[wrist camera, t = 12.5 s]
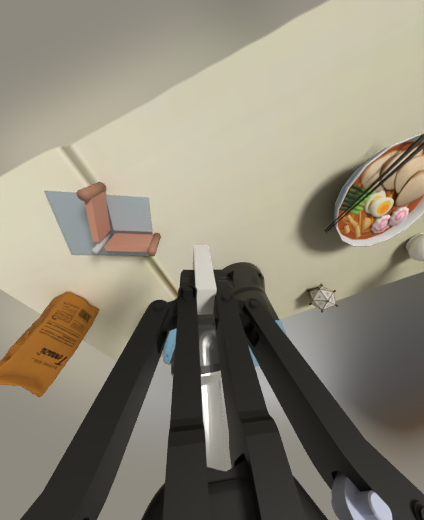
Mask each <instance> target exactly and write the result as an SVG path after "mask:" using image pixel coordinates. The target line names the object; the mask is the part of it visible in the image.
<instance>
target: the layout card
mask: <svg viewBox="0 0 424 520" xmlns="http://www.w3.org/2000/svg"><path fill="white" fill-rule="evenodd" d="M44 192H45V194H46V196H47V199H48V201H49V203H50V206H51V208H52V210H53V213H54V215H55V217H56V220H57V222H58V224H59V227H60V229H61V231H62V233H63V236H64V238H65V240H66V243H67V245H68V247H69V250H70V252H71V254H77V255H129V256H149V255H148V254H147V252H129V251H106V250H105V245H106V244H107V243H106V244H105V245H104V246H103V247H102V249H101V250H100V251H99V252H98V253H97V254H93V253H91V250H92V249H93V248H94V247H95V246H96V244H97V243H98V242H93V240H92V235H91V231H90V226H89V222H88V217H87V212H86V208H85V203H84V201H82V200H80V199H79V198H78V197H77V193H72V192H57V191H44ZM106 202H107V209H108V216H109V223H110V231H109V233H110V234H111V235H112V236H113V235H114V234H115V233H124V234H151V235H152V234H153V233H152V224H151V215H150V206H149V198H146V197H131V196H117V195H106ZM111 238H112V237H111ZM111 238H110V239H111ZM110 239H109V240H110ZM109 240H108V241H109ZM154 256H155V255H154Z"/></svg>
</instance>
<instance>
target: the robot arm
mask: <svg viewBox="0 0 424 520" xmlns="http://www.w3.org/2000/svg"><path fill="white" fill-rule="evenodd" d="M163 348H164V357H163V358H164V362H165V363H166V364H168V365H170V364H171V375H172V376H173V389H172V405H171V421H170V430H169V437H168V450H167V451H168V452H167V465H166V480H165V483H164V485H162V487H161V488H160V489H159V490H158V492H157V493H156V494H155V496H154V497H153V499H152V500H151V502H150V504H149V506H148V508H147V509H146V511H145V513H144V515H143V517H142V519H141V520H328V519H327V518H326V516H325V515H324V514H323V513H322V511H321V510H320V509H319V508H318V506H317V505H316V504H315V503H314V501H313V500H312V499H311V497H310V496H309V495H308V494H307V492H306V491H305V490H304V489H303V487H302V486H301V485H300V484H299V482H298V481H297V480H296V479H295V477H294V476H293V475H292V472H291V469H290V466H289V463H288V460H287V456H286V453H285V450H284V447H283V443H282V440H281V437H280V434H279V431H278V428H277V425H276V423H275V421H274V420H273V418H272V417H271V416H270V415H269V413H268V411H267V408H266V404H265V401H264V397H263V394H262V391H261V387H260V384H259V380H258V377H257V373H256V370H255V366H260V368H261V369H262V371H263V373H264V375H265V376H266V379H267V380H268V382H269V384H270V386H271V388H272V389H273V392H274V393H275V395H276V397H277V399H278V401H279V402H280V404H281V406H282V408H283V410H284V412H285V414H286V416H287V417H288V419H289V421H290V423H291V425H292V426H293V428H294V430H295V432H296V434H297V436H298V438H299V440H300V441H301V443H302V445H303V447H304V449H305V450H306V452H307V454H308V456H309V458H310V459H311V461H312V462H313V464H314V466H315V467H316V469H317V470H318V472H319V473H320V475H321V476H322V478H323V479H324V481H325V482H326V483H327V485H328V486H329V487H330V489H331V490H332V507H333V510H334V512H335V514H336V516H337V517H338V518H339V519H340V520H424V494H423V493H422V492H421V491H420V490H418V489H417V488H416V487H415V486H414V485H413V484H412V483H411V482H410V481H409V480H408V479H407V478H406V477H405V476H404V475H403V474H401V473H400V472H399V471H398V470H397V469H396V468H395V467H394V466H393V465H392V464H391V463H390V462H389V461H388V460H387V459H386V458H384V457H383V456H382V455H381V454H380V453H379V452H378V451H377V450H376V449H375V448H374V447H373V446H371V445H370V443H368V442H367V441H366V440H365V439H364V437H363V436H362V435H361V433H360V432H359V431H358V429H357V428H356V427H355V425H354V424H353V423H352V421H351V420H350V419H349V417H348V416H347V415H346V413H345V412H344V411H343V409H342V408H341V407H340V406H339V404H338V403H337V402H336V400H335V399H334V398H333V396H332V395H331V394H330V392H329V391H328V390H327V388H326V387H325V386H324V384H323V383H322V382H321V381H320V379H319V378H318V377H317V375H316V374H315V373H314V371H313V370H312V369H311V367H310V366H309V365H308V363H307V362H306V361H305V360H304V358H303V357H302V356H301V354H300V353H299V352H298V350H297V349H296V348H295V346H294V345H293V344H292V342H291V341H290V340H289V338H288V337H287V336H286V333H285V331H284V328H283V326H282V322H281V321H280V320H279V318H278V316H277V314H276V312H275V311H274V309H273V307H272V305H271V303H270V301H269V299H268V297H267V295H266V293H265V284H264V277H263V275H262V273H261V271H260V270H259V268H258V267H256V266H255V265H253V264H250V263H244V262H241V263H235V264H232V265H230V266H228V267H226V268H224V269H223V270H213V267H212V262H211V256H210V251H209V246H208V245H194V252H193V270H183V271H182V272H181V276H180V288H179V290H178V298H177V299H175V300H174V301H171V302H168V303H167V302H166V301H164V300H156V301H153V302H152V303H151V304H150V305H149V306H148V308H147V310H146V312H145V313H144V315H143V317H142V319H141V320H140V322H139V324H138V326H137V327H136V329H135V331H134V333H133V334H132V336H131V338H130V340H129V341H128V343H127V345H126V347H125V348H124V350H123V352H122V354H121V355H120V357H119V359H118V361H117V363H116V364H115V366H114V368H113V369H112V371H111V373H110V375H109V377H108V378H107V380H106V382H105V384H104V385H103V387H102V389H101V391H100V392H99V394H98V396H97V398H96V399H95V401H94V403H93V405H92V406H91V408H90V410H89V412H88V413H87V415H86V417H85V419H84V420H83V422H82V424H81V426H80V428H79V429H78V431H77V433H76V434H75V436H74V438H73V440H72V441H71V443H70V445H69V447H68V448H67V450H66V452H65V454H64V455H63V457H62V459H61V461H60V462H59V464H58V466H57V468H56V470H55V471H54V473H53V475H52V477H51V478H50V480H49V482H48V484H47V485H46V487H45V489H44V491H43V492H42V494H41V495H40V496H39V497H38V498H37V500H36V501H35V502H34V503H33V505H32V506H31V507H30V508H29V509H28V511H27V512H26V513H25V514H24V516H23V517H22V518H21V519H20V520H97V518H98V516H99V514H100V512H101V510H102V507H103V505H104V503H105V501H106V499H107V496H108V494H109V491H110V489H111V486H112V484H113V482H114V479H115V476H116V474H117V471H118V468H119V465H120V463H121V460H122V458H123V455H124V452H125V450H126V447H127V444H128V442H129V439H130V436H131V433H132V431H133V428H134V425H135V423H136V420H137V418H138V415H139V412H140V409H141V407H142V404H143V401H144V399H145V396H146V393H147V391H148V388H149V385H150V383H151V380H152V377H153V375H154V372H155V369H156V366H157V364H158V361H159V358H160V356H161V353H162V351H163ZM220 377H222V384H223V391H224V399H225V406H226V413H227V420H228V428H229V449H230V458H231V465H232V468H231V469H230V470H228V471H227V460H226V449H225V448H226V447H225V435H224V423H223V410H222V398H221V385H220Z"/></svg>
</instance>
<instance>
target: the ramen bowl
mask: <svg viewBox="0 0 424 520" xmlns="http://www.w3.org/2000/svg"><path fill="white" fill-rule="evenodd" d="M423 214H424V134H418V135H416V136H413V137H411V138H408V139H406V140H403V141H401V142H398V143H396V144H393V145H391V146H389V147H387V148H385V149H383V150H382V151H380V152H379V153H377V154H376V155H374V156H373V157H372V158H371V159H369V160H368V161H367V162H365V163H364V164H363V165H361V166H360V167H359V168H358V169H356V170H355V171H354V173H353V174H352V175H351V177H350V178H349V179H348V180H347V182H346V183H345V184H344V185H343V187H342V189H341V191H340V193H339V196H338V198H337V200H336V202H335V211H334V222H333V223H334V225H335V227H336V229H337V232H338V234H339V236H340V238H341V240H342V241H343V242H345V243H348V244H350V245H352V246H354V247H356V246H372V245H375V244H378V243H381V242H383V241H386V240H389V239H390V238H392V237H394V236H395V235H397V234H399V233H400V232H402V231H404V230H405V229H407V228H408V227H410V226H411V225H412V224H413V223H414V222H415V221H416V220H417V219H418V218H419V217H421V216H422V215H423ZM333 223H332V224H333ZM332 224H331V225H332ZM331 225H330V226H331ZM334 225H333V226H334ZM330 226H329V227H330ZM333 226H332V227H333ZM329 227H328V228H329ZM332 227H331V228H332ZM328 228H327V229H328ZM331 228H329V229H328V230H327V229H326V230H327V231H329V230H330V229H331ZM326 230H325V231H326ZM327 231H326V232H327Z"/></svg>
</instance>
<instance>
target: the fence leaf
mask: <svg viewBox="0 0 424 520" xmlns="http://www.w3.org/2000/svg"><path fill="white" fill-rule="evenodd" d="M105 190H106V186H105V185H104V184H103V183H101V182H98V183H95V184H93V185H91V186H88V187H86V188H83V189H81V190H78V191H77V197H78V198H79V199H80V200H82V201H84V203H85V208H86V212H87V217H88V222H89V226H90V231H91V235H92V240H93V242H100V241H101V240H102V239H103V238H104V237H105V236H106V235H107V234H108V233H109V231H110V223H109V216H108V209H107V202H106V195H105Z"/></svg>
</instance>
